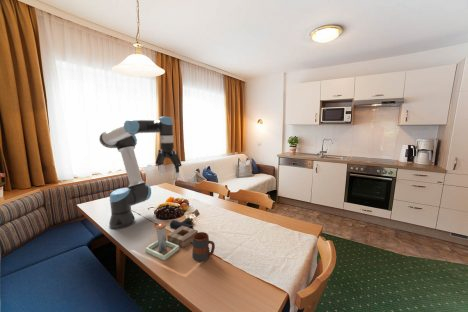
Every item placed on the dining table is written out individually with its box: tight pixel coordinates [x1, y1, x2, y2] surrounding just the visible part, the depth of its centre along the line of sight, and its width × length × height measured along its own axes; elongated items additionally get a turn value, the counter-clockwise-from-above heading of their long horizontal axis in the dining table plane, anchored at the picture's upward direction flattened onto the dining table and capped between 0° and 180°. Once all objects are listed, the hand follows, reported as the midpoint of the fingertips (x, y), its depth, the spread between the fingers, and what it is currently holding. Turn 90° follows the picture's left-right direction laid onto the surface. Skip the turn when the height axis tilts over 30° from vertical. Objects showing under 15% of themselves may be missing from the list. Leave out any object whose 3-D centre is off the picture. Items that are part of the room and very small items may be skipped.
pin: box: [155, 221, 167, 254], centre depth 101 cm, size 5×5×15 cm
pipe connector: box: [169, 217, 194, 230], centre depth 127 cm, size 12×5×15 cm
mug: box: [192, 231, 216, 263], centre depth 97 cm, size 9×12×12 cm
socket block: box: [166, 226, 199, 248], centre depth 112 cm, size 12×12×5 cm
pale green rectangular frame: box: [144, 240, 180, 261], centre depth 102 cm, size 14×10×3 cm
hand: (168, 176), depth 122 cm, fingers open, 13 cm apart
